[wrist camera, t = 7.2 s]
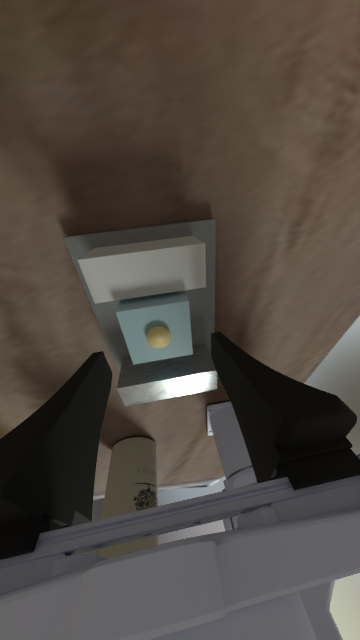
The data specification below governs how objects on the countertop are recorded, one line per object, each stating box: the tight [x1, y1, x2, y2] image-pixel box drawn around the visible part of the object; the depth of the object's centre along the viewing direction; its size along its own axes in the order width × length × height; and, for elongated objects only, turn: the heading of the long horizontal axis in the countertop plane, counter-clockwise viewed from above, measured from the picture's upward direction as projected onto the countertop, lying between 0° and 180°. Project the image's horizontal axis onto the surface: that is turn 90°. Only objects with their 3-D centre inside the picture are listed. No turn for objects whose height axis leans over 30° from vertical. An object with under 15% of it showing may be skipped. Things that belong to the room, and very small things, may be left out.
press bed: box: [64, 219, 216, 374], centre depth 17 cm, size 18×12×5 cm, turn 5°
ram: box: [117, 345, 217, 406], centre depth 20 cm, size 3×10×4 cm, turn 95°
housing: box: [116, 291, 193, 365], centre depth 15 cm, size 5×5×5 cm
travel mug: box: [96, 437, 159, 558], centre depth 26 cm, size 8×8×18 cm
